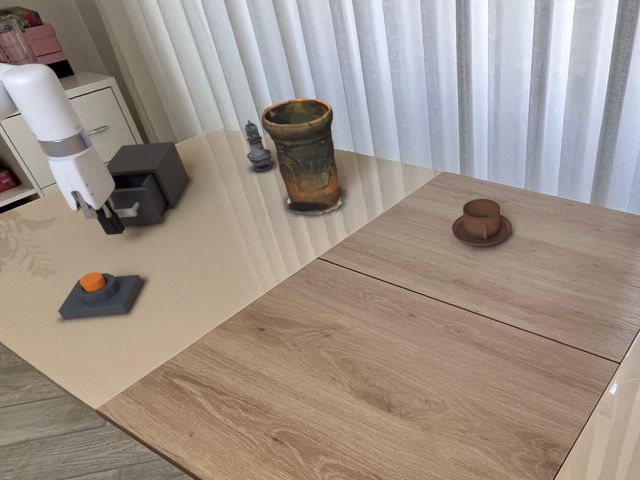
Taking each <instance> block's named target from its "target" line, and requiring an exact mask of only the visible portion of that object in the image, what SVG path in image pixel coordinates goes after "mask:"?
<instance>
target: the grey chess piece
mask: <svg viewBox="0 0 640 480" xmlns="http://www.w3.org/2000/svg"><path fill="white" fill-rule="evenodd" d="M244 131H245V134H246V137H247V139H246V142H247V143H248V145H249V147H250V152H249V153H247V155H246V158H247V159H248V161H249V162H250V163H251V164H252V165H253V167H252V172H255V173H266V172H269V171H272V169H273V168H274V166H275V165H274V164H273V163H271V161H272V153H273V152H272V150H270V149H266V148H265V147H264V144H263V137H262V136H261V134H260V132H259V129H258V126H257V125H256V123H253V122H251V120H249V119H247V123H246V124H245V125H244Z"/></svg>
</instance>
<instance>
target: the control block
mask: <svg viewBox="0 0 640 480" xmlns="http://www.w3.org/2000/svg"><path fill="white" fill-rule="evenodd" d="M100 273H101V272H100ZM101 274H102V276H103V277H104V279H105V281H106V285H105V286H104V287H102V288H101V289H98V290H96V291H91V292H87V291H85V290H84V288H83V287H82V285H81V284H80V279H78V280H77V281H76V283H75V284H74V286H73V287H72V289H71V290H70V292H69V293H68V295H67V297H66V298H65V299H64V301H63V302H62V304H61V306H60V307H59V309H58V311H57V312H58V313H59V314H60V316H61V317H62V319H63V320H74V319H86V318H97V317H107V316H119V315H128V314H129V313H130V311H131V309H132V306H133V304H134V303H135V300H136V299H137V296H138V295H139V293H140V291H141V289H142V287H143V285H144V281H143V280H142V278H141V276H140V275H139V274H131V275H119V276H117V275H116V276H114V275H113V274H111V273H107V272H104V273H103V272H102V273H101Z"/></svg>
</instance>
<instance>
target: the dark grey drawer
mask: <svg viewBox="0 0 640 480" xmlns="http://www.w3.org/2000/svg"><path fill="white" fill-rule="evenodd" d="M112 178H113V181H114V183H115V188H114V190H113V195H112V201H113V203H114V205H115V207H116V211H114V212H117V214H118V216H119V218H120V220H121V222H122V223H123V225H124V227H126V226H127V227H128V226H139V225H150V224H160V223H162V221H163V218H162V216H161V215H162V214H163V212H164V210H165V209H164V208H165V206H166V204H167V200H166V197H165V195H164V193H163V191H162V189H161V187H160V184H159V182H158V180H157V178H156V176H155V174H154V173H143V174H130V175H117V176H112Z"/></svg>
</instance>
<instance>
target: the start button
mask: <svg viewBox="0 0 640 480" xmlns="http://www.w3.org/2000/svg"><path fill="white" fill-rule="evenodd" d="M79 280H80V284H81V285H82V287H83V288H84V290H85V291H87V292H91V291H96V290H98V289H101V288H102V287H104V286H105V285H106V281H105V279H104V277H103V276H102V274H101V272H98V271H95V272H90V273H87V274H85V275H83V276H82V277H81V278H79Z"/></svg>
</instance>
